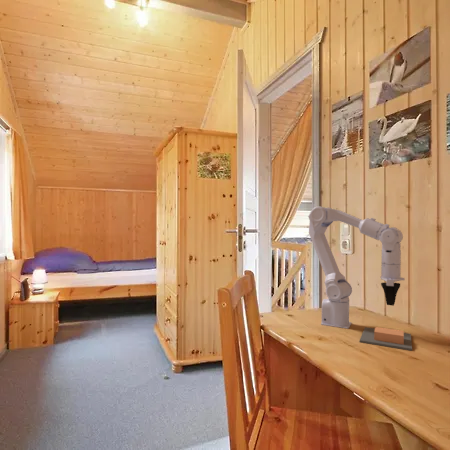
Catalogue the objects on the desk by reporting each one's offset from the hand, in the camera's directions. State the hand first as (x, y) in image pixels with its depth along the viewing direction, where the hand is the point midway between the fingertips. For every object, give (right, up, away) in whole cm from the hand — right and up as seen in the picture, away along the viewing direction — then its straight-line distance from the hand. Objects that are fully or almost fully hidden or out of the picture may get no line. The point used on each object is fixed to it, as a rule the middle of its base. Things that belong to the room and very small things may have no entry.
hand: (390, 304), depth 109 cm
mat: (-3, -10, -4) cm, 11 cm away
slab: (-2, -8, -4) cm, 9 cm away
